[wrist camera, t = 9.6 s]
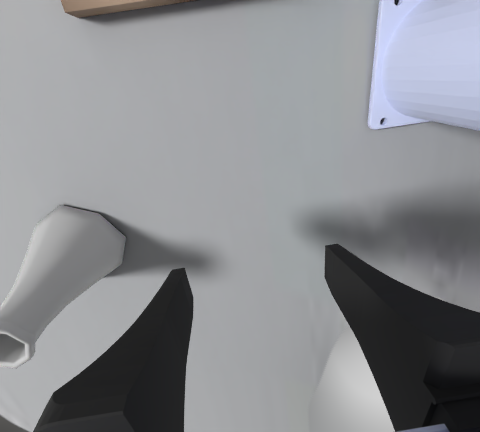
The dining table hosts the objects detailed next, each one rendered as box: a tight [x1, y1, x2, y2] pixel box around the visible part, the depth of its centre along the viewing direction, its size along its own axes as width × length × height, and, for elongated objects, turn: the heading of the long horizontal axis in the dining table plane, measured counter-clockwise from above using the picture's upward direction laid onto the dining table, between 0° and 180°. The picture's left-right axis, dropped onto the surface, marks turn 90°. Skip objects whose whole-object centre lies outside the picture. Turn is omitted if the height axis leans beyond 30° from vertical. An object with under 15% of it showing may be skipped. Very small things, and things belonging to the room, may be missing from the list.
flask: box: [0, 205, 126, 368], centre depth 18 cm, size 7×7×10 cm
